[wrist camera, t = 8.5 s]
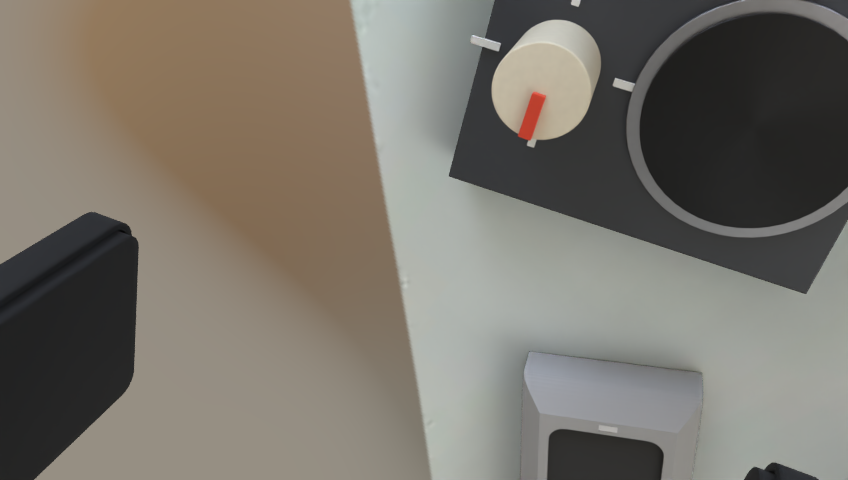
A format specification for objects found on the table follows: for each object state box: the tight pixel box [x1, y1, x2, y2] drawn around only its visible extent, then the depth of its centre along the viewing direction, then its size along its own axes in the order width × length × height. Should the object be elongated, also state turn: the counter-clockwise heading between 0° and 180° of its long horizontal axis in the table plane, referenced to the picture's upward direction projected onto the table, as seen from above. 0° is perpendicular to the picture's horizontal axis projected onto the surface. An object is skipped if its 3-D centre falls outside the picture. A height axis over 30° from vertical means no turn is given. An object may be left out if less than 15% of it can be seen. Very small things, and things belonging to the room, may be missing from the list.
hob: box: [449, 0, 848, 294], centre depth 35 cm, size 19×14×3 cm
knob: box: [491, 20, 601, 141], centre depth 33 cm, size 4×4×5 cm
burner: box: [626, 0, 848, 238], centre depth 34 cm, size 11×11×1 cm
